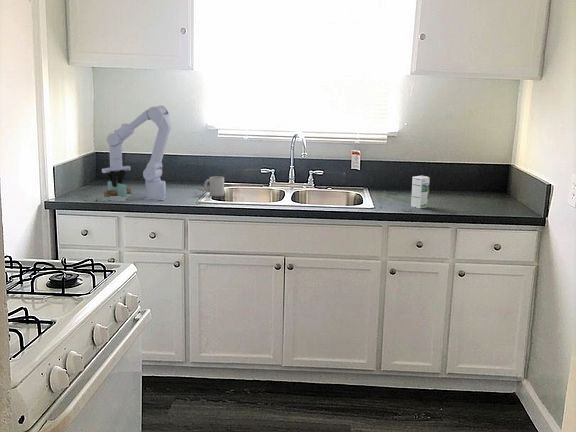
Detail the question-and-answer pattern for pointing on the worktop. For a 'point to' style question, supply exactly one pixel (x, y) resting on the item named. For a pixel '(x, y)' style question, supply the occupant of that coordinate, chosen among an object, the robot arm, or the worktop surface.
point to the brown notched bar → (114, 192)
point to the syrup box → (420, 191)
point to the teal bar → (118, 189)
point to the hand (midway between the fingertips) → (117, 186)
